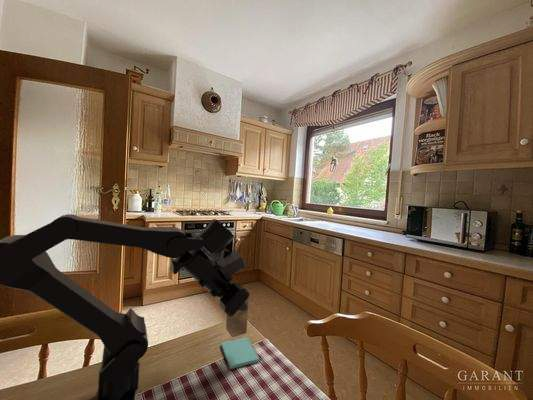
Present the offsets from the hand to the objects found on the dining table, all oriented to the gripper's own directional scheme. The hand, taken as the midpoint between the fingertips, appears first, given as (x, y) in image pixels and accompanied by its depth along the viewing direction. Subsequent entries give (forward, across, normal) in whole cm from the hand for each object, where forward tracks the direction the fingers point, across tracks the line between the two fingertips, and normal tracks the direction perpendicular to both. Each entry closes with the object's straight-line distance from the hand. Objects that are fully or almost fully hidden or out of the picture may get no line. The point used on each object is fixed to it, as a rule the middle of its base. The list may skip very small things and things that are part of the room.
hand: (242, 304), depth 61 cm
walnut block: (+4, 0, +6) cm, 7 cm away
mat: (+9, 0, +9) cm, 13 cm away
